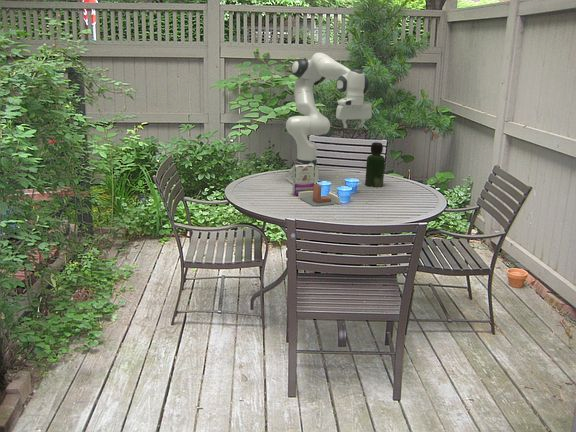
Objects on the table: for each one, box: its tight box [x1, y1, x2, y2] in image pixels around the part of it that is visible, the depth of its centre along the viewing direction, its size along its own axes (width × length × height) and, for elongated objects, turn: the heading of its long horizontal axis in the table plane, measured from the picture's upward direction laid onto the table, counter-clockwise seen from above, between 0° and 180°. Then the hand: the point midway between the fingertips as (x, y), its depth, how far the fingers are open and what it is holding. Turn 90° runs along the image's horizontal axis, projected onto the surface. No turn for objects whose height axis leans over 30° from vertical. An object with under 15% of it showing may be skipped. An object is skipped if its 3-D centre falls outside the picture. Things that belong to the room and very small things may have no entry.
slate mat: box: [299, 197, 340, 207], centre depth 332 cm, size 16×14×1 cm
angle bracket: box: [313, 183, 331, 203], centre depth 329 cm, size 5×8×9 cm, turn 116°
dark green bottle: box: [364, 141, 386, 188], centre depth 370 cm, size 10×10×25 cm
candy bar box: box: [291, 164, 315, 197], centre depth 343 cm, size 11×5×16 cm, turn 105°
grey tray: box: [297, 191, 342, 205], centre depth 332 cm, size 18×16×4 cm
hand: (353, 127), depth 336 cm, fingers open, 8 cm apart
